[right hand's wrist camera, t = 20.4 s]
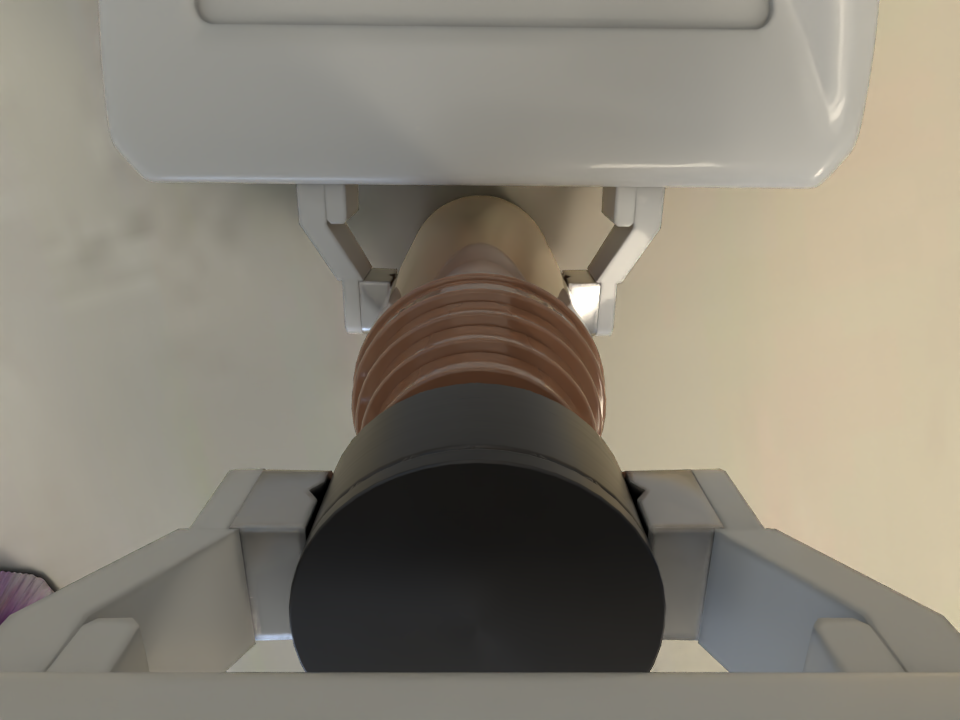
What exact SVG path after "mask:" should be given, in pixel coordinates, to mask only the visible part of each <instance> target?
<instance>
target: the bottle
mask: <svg viewBox="0 0 960 720" xmlns="http://www.w3.org/2000/svg"><path fill="white" fill-rule="evenodd" d="M467 383H485V384H500V385H505V386H511V387H516V388H521V389H526V390H530V391H532V392H534V393H537V394H540V395H542V396H544V397H547V398H549V399H551V400H553V401H555V402H557V403H559V404H561V405H563V406H564V407H566V408H567V409H569V410H571V411H572V412H574V413H575V414H577V415H578V416H579V417H580V418H582V419H583V420H584V421H585V422H586V423H588V424H589V425H590V426H591V427H592V428H593V429H594V430H595V431H596V432H597V434H598V435H599V436H600V437H601V435H602V432H603V428H604V422H605V416H606V394H605V380H604V371H603V366H602V362H601V359H600V355H599V352H598V350H597V347H596V345H595V343H594V340H593V338H592V336H591V334H590V332H589V330H588V328H587V326H586V323H585V321H584V319H583V317H582V315H581V313H580V311H579V309H578V307H577V305H576V303H575V300H574V298H573V296H572V294H571V292H570V290H569V288H568V286H567V284H566V282H565V279H564V277H563V275H562V273H561V271H560V269H559V267H558V265H557V263H556V261H555V259H554V256H553V254H552V252H551V250H550V248H549V246H548V244H547V242H546V240H545V238H544V235H543V233H542V232H541V230H540V228H539V227H538V225H537V224H536V223H535V221H534V220H533V219H532V218H531V217H530V216H529V215H528V214H527V213H526V212H525V211H524V210H522V209H521V208H520V207H518V206H517V205H515V204H513V203H511V202H509V201H507V200H504V199H501V198H498V197H493V196H486V195H473V196H467V197H462V198H459V199H456V200H453V201H451V202H449V203H447V204H445V205H443V206H442V207H440V208H438V209H437V210H436V211H435V212H434V213H432V214H431V215H430V216H429V217H428V218H427V220H426V221H425V222H424V223H423V225H422V226H421V228H420V229H419V231H418V233H417V235H416V237H415V239H414V241H413V243H412V245H411V247H410V249H409V251H408V253H407V255H406V257H405V259H404V261H403V263H402V265H401V267H400V269H399V272H398V274H397V276H396V278H395V280H394V282H393V284H392V286H391V288H390V290H389V292H388V294H387V296H386V298H385V300H384V302H383V304H382V306H381V308H380V310H379V312H378V314H377V316H376V318H375V320H374V322H373V324H372V326H371V328H370V330H369V332H368V334H367V336H366V338H365V341H364V343H363V345H362V347H361V349H360V352H359V355H358V358H357V361H356V366H355V372H354V377H353V390H352V417H353V424H354V428H355V432H356V435H357V434H358V433H359V432H360V431H361V430H362V429H363V428H364V426H366V425H367V424H368V423H369V422H370V421H372V420H373V419H374V418H375V417H376V416H378V415H379V414H380V413H382V412H383V411H385V410H387V409H388V408H390V407H391V406H393V405H395V404H396V403H398V402H400V401H402V400H405V399H407V398H409V397H411V396H413V395H416V394H418V393H420V392H424V391H427V390H431V389H435V388H439V387H445V386H450V385H456V384H467Z"/></svg>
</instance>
